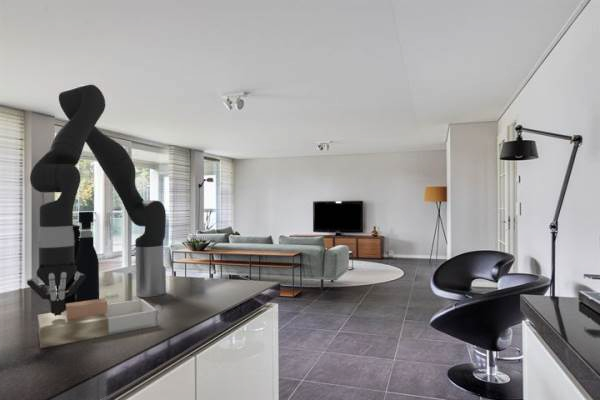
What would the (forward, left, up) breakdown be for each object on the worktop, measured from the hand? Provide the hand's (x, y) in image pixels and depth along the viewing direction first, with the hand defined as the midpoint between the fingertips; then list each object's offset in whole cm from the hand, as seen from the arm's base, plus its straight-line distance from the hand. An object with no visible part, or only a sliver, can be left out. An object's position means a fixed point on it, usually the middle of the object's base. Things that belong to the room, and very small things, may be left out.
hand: (57, 314), depth 98 cm
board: (-3, 0, -5) cm, 6 cm away
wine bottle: (-9, -21, -5) cm, 23 cm away
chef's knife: (-26, -7, -6) cm, 27 cm away
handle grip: (-5, -31, -5) cm, 32 cm away
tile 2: (-9, 0, -1) cm, 9 cm away
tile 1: (-4, 0, -1) cm, 4 cm away
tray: (-16, 0, -5) cm, 17 cm away
